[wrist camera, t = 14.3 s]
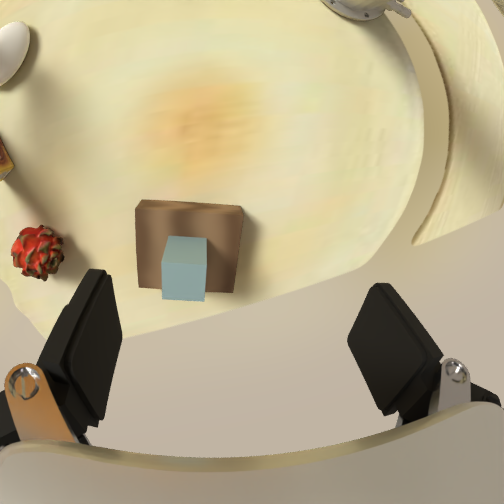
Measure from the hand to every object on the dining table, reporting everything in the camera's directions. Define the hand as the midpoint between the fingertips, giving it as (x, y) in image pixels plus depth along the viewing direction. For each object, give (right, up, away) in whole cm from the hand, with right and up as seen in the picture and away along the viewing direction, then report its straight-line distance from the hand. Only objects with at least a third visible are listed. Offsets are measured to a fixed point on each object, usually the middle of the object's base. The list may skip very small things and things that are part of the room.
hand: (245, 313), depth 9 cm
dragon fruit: (-34, +4, +27) cm, 44 cm away
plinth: (-9, +4, +31) cm, 32 cm away
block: (-8, +2, +27) cm, 29 cm away
